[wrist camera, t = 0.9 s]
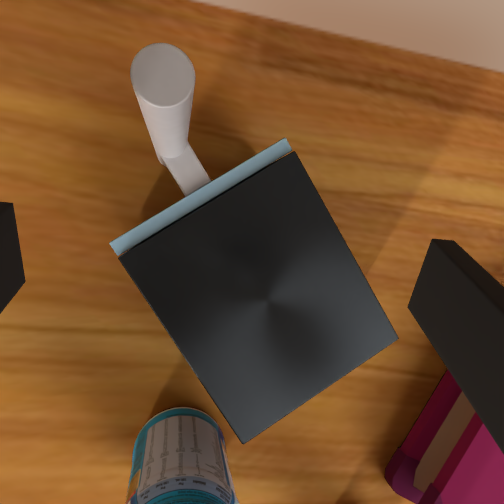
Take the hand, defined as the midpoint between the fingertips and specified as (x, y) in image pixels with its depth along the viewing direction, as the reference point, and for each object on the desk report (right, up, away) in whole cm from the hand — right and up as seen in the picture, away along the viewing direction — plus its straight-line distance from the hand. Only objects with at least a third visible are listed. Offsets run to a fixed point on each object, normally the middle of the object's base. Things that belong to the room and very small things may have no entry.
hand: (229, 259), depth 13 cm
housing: (0, -2, +25) cm, 25 cm away
